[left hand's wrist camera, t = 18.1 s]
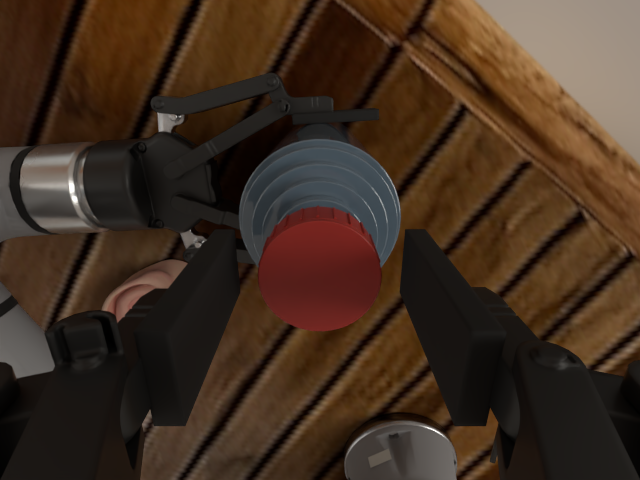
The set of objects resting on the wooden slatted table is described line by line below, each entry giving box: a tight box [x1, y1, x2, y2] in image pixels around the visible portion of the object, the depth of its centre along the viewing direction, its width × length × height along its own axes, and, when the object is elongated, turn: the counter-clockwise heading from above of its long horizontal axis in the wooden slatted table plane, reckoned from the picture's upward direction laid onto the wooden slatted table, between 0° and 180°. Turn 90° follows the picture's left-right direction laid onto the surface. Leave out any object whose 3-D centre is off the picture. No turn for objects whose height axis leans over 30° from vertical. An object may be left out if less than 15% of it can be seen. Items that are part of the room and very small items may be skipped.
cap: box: [258, 205, 382, 331], centre depth 14 cm, size 4×4×2 cm
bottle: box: [239, 122, 401, 267], centre depth 25 cm, size 8×8×25 cm
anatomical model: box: [101, 259, 188, 323], centre depth 40 cm, size 13×4×12 cm
